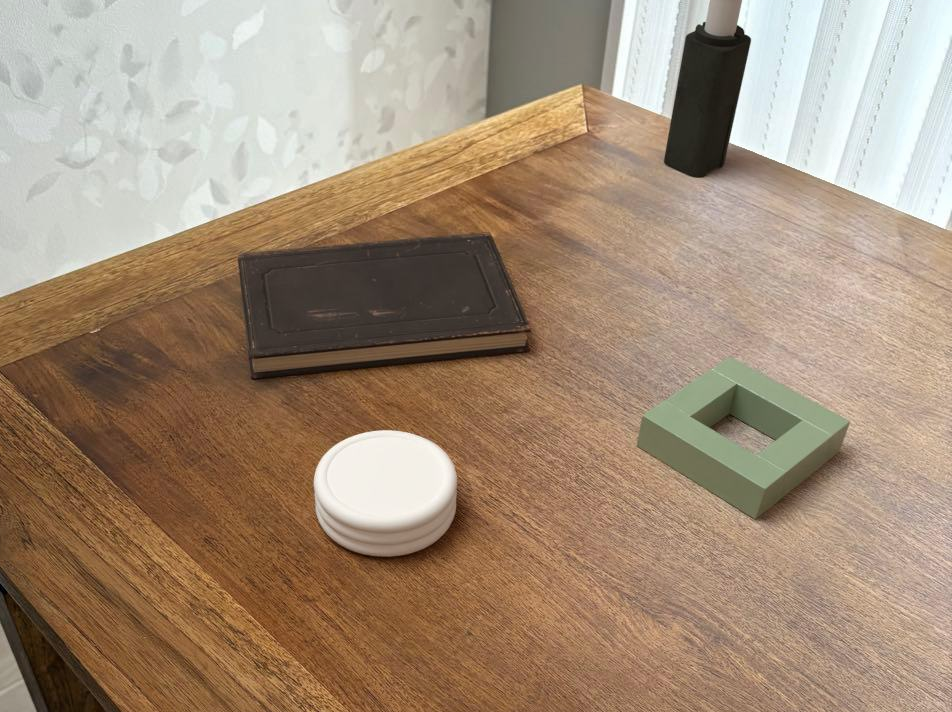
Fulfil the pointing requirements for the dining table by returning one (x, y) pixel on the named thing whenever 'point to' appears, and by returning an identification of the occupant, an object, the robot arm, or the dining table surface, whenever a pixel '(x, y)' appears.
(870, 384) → the dining table surface
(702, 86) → the black and white post
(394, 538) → the white stacked coasters
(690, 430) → the pad
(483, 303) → the hardcover book
